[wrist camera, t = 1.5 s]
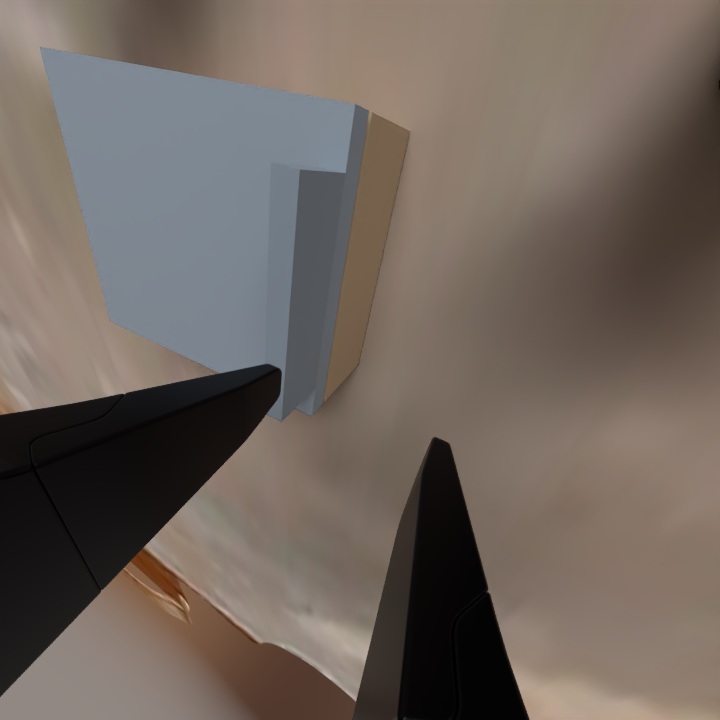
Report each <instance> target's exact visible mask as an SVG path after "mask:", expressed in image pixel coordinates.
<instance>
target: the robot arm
mask: <svg viewBox="0 0 720 720" xmlns="http://www.w3.org/2000/svg"><path fill="white" fill-rule="evenodd" d="M719 89H720V81H719ZM281 380H282V371H281V369H280V368H278V367H276V366H273V365H271V364H262V365H258V366H253V367H248V368H243V369H239V370H234V371H229V372H224V373H219V374H215V375H210V376H205V377H200V378H195V379H191V380H186V381H181V382H176V383H171V384H167V385H162V386H157V387H152V388H147V389H143V390H138V391H133V392H128V393H126V394H125V395H124V394H118V395H114V396H109V397H104V398H99V399H94V400H89V401H83V402H78V403H73V404H67V405H61V406H54V407H48V408H42V409H36V410H29V411H23V412H16V413H10V414H3V415H0V697H1V695H3V693H4V692H5V691H6V690H7V689H8V688H9V687H10V686H11V685H12V684H13V683H14V682H15V681H16V680H17V679H18V678H19V677H20V676H21V674H23V673H24V672H25V670H27V669H28V668H29V666H30V665H31V664H32V663H33V662H34V661H35V660H36V659H37V658H38V657H39V656H40V655H41V654H42V653H43V652H44V651H45V650H46V649H47V648H48V647H49V646H50V645H51V643H53V641H54V640H55V639H56V638H57V637H58V636H59V635H60V634H61V633H62V632H63V631H64V630H65V629H66V628H67V627H68V626H69V625H70V624H71V623H72V622H73V621H74V620H75V619H76V618H77V616H78V615H79V614H80V613H81V612H82V611H83V610H84V609H85V608H86V607H87V606H88V605H89V604H90V603H91V602H92V601H93V600H94V599H95V598H96V597H97V596H98V595H99V594H100V592H101V590H103V589H104V588H105V587H106V586H107V585H108V584H109V583H110V582H111V581H112V579H114V578H115V576H117V574H118V573H119V572H120V571H121V570H122V569H123V568H124V567H125V566H126V565H127V564H128V563H129V562H130V561H131V560H132V559H133V558H134V557H135V556H136V555H137V554H138V553H139V552H140V551H141V549H142V548H143V547H144V546H145V545H146V544H147V543H148V542H149V541H150V540H151V539H152V538H153V537H154V536H155V535H156V534H157V533H158V532H159V531H160V530H161V529H162V528H163V527H164V526H165V524H166V523H167V522H168V521H169V520H170V519H171V518H172V517H173V516H174V515H175V514H176V513H177V512H178V511H179V510H180V509H181V508H182V507H183V506H184V505H185V504H186V503H187V502H188V501H189V499H190V498H191V497H192V496H193V495H194V494H195V493H196V492H197V491H198V490H199V489H200V488H201V487H202V486H203V485H204V484H205V483H206V482H207V481H208V480H209V479H210V478H211V477H212V476H213V474H214V473H215V472H216V471H217V470H218V469H219V468H220V467H221V466H222V465H223V464H224V463H225V462H226V461H227V460H228V459H229V458H230V457H231V456H232V455H233V454H234V453H235V452H236V451H237V449H238V448H239V447H240V446H241V445H242V444H243V443H244V442H245V441H246V440H247V438H248V437H249V436H250V435H251V434H252V432H253V431H254V430H255V428H256V427H257V426H258V424H259V423H260V422H261V421H262V419H263V418H264V417H265V415H266V414H267V413H268V412H269V410H270V409H271V408H272V406H273V405H274V404H275V402H276V401H277V400H278V398H279V396H280V393H281ZM487 591H488V585H487V581H486V577H485V574H484V570H483V566H482V562H481V559H480V555H479V551H478V547H477V544H476V540H475V536H474V532H473V529H472V525H471V521H470V517H469V514H468V510H467V506H466V502H465V499H464V495H463V491H462V487H461V484H460V480H459V476H458V472H457V469H456V465H455V461H454V457H453V454H452V450H451V446H450V444H449V443H448V442H446V441H443V440H441V439H439V438H437V437H434V438H432V440H431V442H430V445H429V447H428V449H427V452H426V454H425V456H424V458H423V461H422V463H421V466H420V468H419V471H418V474H417V476H416V479H415V482H414V484H413V487H412V490H411V492H410V495H409V498H408V500H407V503H406V506H405V508H404V511H403V514H402V517H401V519H400V523H399V526H398V530H397V534H396V538H395V542H394V547H393V551H392V555H391V559H390V563H389V567H388V572H387V576H386V580H385V584H384V588H383V592H382V597H381V601H380V605H379V609H378V613H377V617H376V622H375V626H374V630H373V634H372V638H371V642H370V647H369V651H368V655H367V659H366V663H365V667H364V672H363V676H362V680H361V684H360V688H359V692H358V697H357V701H356V705H355V709H354V713H353V718H352V720H530V719H529V717H528V714H527V711H526V708H525V705H524V703H523V700H522V697H521V694H520V691H519V688H518V685H517V682H516V679H515V676H514V673H513V670H512V668H511V665H510V662H509V659H508V656H507V652H506V649H505V645H504V642H503V639H502V635H501V632H500V628H499V625H498V622H497V618H496V614H495V611H494V607H493V603H492V599H491V595H490V594H489V593H488V592H487Z"/></svg>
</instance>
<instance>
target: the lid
mask: <svg viewBox="0 0 720 720" xmlns="http://www.w3.org/2000/svg"><path fill="white" fill-rule="evenodd" d="M40 51H41V55H42V59H43V63H44V66H45V70H46V74H47V78H48V82H49V86H50V90H51V94H52V97H53V101H54V105H55V109H56V113H57V117H58V121H59V125H60V128H61V132H62V136H63V140H64V144H65V148H66V152H67V156H68V159H69V163H70V167H71V171H72V175H73V179H74V183H75V187H76V190H77V194H78V198H79V202H80V206H81V210H82V214H83V218H84V221H85V225H86V229H87V233H88V237H89V241H90V245H91V249H92V252H93V256H94V260H95V264H96V268H97V272H98V276H99V280H100V283H101V287H102V291H103V295H104V299H105V303H106V307H107V311H108V315H109V318H110V322H112V323H114V324H116V325H119V326H121V327H123V328H125V329H127V330H129V331H131V332H133V333H136V334H138V335H140V336H142V337H144V338H146V339H148V340H150V341H153V342H155V343H157V344H159V345H161V346H163V347H165V348H167V349H170V350H172V351H174V352H176V353H178V354H180V355H182V356H184V357H187V358H189V359H191V360H193V361H195V362H197V363H199V364H201V365H204V366H206V367H208V368H210V369H212V370H214V371H216V372H218V373H224V372H229V371H234V370H239V369H243V368H248V367H253V366H258V365H262V364H271V365H273V366H276V367H278V368H280V369H281V371H282V380H281V393H280V396H279V398H278V400H277V401H276V402H275V404H274V405H273V406H272V408H271V409H270V410H269V412H268V413H267V414H266V415H268V416H270V417H272V418H274V419H276V420H278V421H280V422H282V421H283V420H284V419H285V418H286V417H287V416H288V415H289V414H290V413H291V412H292V411H293V410H294V409H297V410H299V411H301V412H303V413H305V414H308V415H310V416H312V415H313V414H314V413H315V412H316V411H317V410H318V409H319V408H320V406H321V405H322V402H323V396H324V390H325V384H326V377H327V371H328V365H329V359H330V352H331V346H332V340H333V333H334V327H335V321H336V315H337V308H338V302H339V296H340V290H341V283H342V277H343V271H344V265H345V258H346V252H347V246H348V240H349V233H350V227H351V221H352V215H353V208H354V202H355V196H356V190H357V183H358V177H359V171H360V165H361V158H362V152H363V146H364V139H365V133H366V127H367V121H368V114H369V111H368V110H366V109H364V108H362V107H360V106H358V105H356V104H353V103H347V102H342V101H336V100H331V99H325V98H320V97H314V96H309V95H303V94H298V93H292V92H287V91H281V90H276V89H270V88H265V87H259V86H254V85H248V84H242V83H237V82H231V81H226V80H220V79H215V78H209V77H204V76H198V75H193V74H187V73H182V72H176V71H171V70H165V69H160V68H154V67H148V66H143V65H137V64H132V63H126V62H121V61H115V60H110V59H104V58H99V57H93V56H88V55H82V54H77V53H71V52H66V51H60V50H55V49H49V48H43V47H40Z"/></svg>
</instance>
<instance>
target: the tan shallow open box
mask: <svg viewBox="0 0 720 720" xmlns="http://www.w3.org/2000/svg"><path fill="white" fill-rule="evenodd" d="M409 133H410V131H408V130H406V129H404V128H402V127H400V126H398V125H396V124H394V123H392V122H390V121H388V120H386V119H384V118H382V117H380V116H378V115H376V114H374V113H372V112H369V114H368V121H367V127H366V133H365V139H364V146H363V152H362V158H361V165H360V171H359V177H358V183H357V190H356V196H355V202H354V208H353V215H352V221H351V227H350V233H349V240H348V246H347V252H346V258H345V265H344V271H343V277H342V283H341V290H340V296H339V302H338V308H337V315H336V321H335V327H334V333H333V340H332V346H331V352H330V359H329V365H328V371H327V377H326V384H325V390H324V396H323V401H324V402H325V401H326V400H327V399H328V398H329V397H330V395H331V394H332V393H333V392H334V391H335V390H336V389H337V388H338V387H339V386H340V384H341V383H342V382H343V381H344V380H345V379H346V378H347V377H348V376H349V375H350V373H351V372H352V371H353V370H354V369H355V368H356V367H357V366H358V365H359V360H360V356H361V351H362V346H363V342H364V337H365V333H366V328H367V324H368V319H369V315H370V310H371V306H372V301H373V297H374V292H375V287H376V283H377V278H378V274H379V269H380V265H381V260H382V256H383V251H384V247H385V242H386V238H387V233H388V228H389V224H390V219H391V215H392V210H393V206H394V201H395V197H396V192H397V188H398V183H399V178H400V174H401V169H402V165H403V160H404V156H405V151H406V147H407V142H408V138H409Z"/></svg>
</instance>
